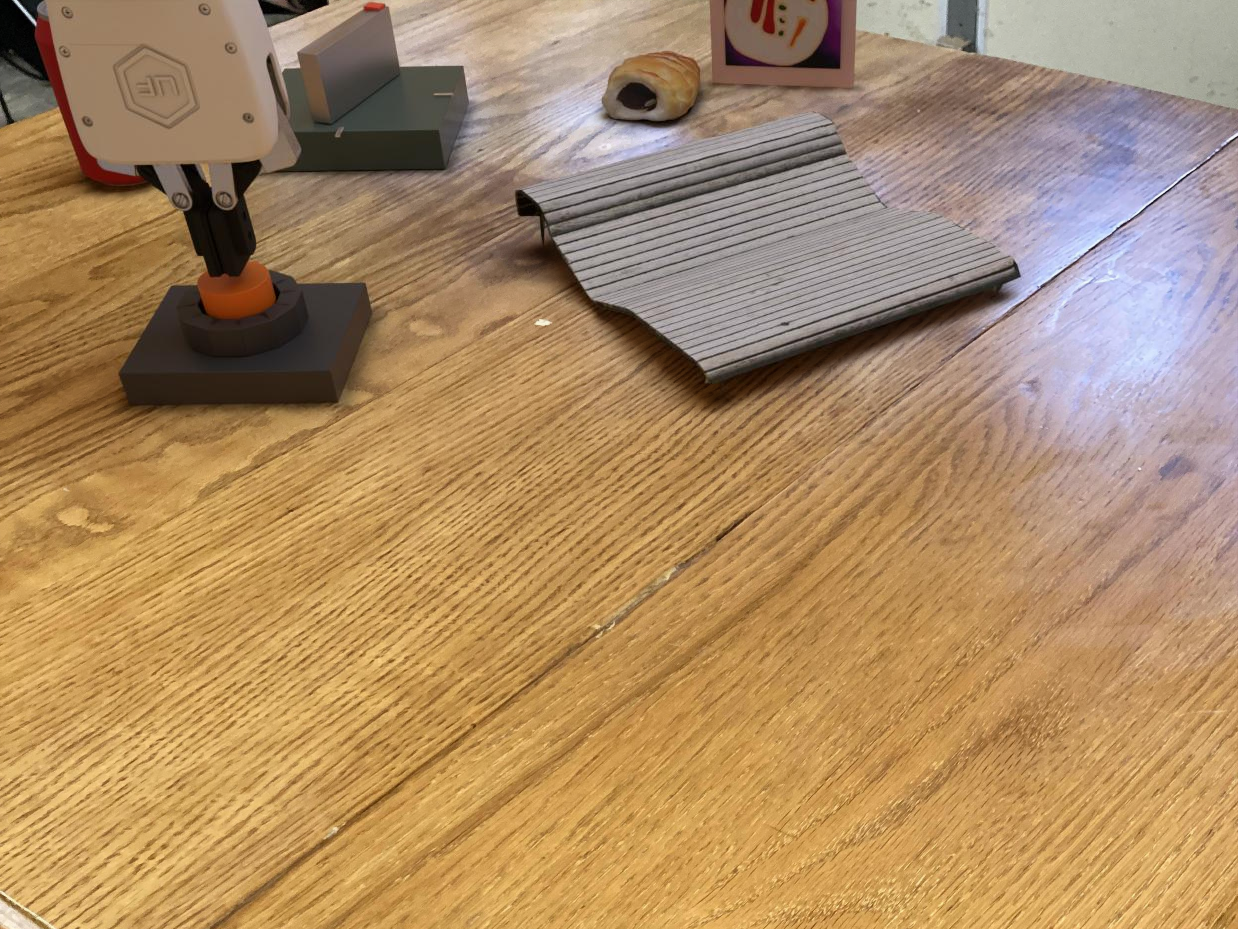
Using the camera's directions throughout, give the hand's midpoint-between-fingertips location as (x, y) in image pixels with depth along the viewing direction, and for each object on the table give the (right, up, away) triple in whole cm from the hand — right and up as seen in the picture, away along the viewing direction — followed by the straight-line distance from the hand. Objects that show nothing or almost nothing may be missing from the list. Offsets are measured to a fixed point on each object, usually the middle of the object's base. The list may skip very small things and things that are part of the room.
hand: (231, 264), depth 81 cm
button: (0, -2, +2) cm, 3 cm away
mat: (+30, +2, +11) cm, 32 cm away
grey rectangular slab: (0, +19, +25) cm, 32 cm away
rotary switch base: (0, +17, +28) cm, 32 cm away
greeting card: (+32, +25, +36) cm, 54 cm away
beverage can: (-16, +13, +24) cm, 31 cm away
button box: (0, -5, +4) cm, 6 cm away
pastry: (+22, +20, +31) cm, 43 cm away
